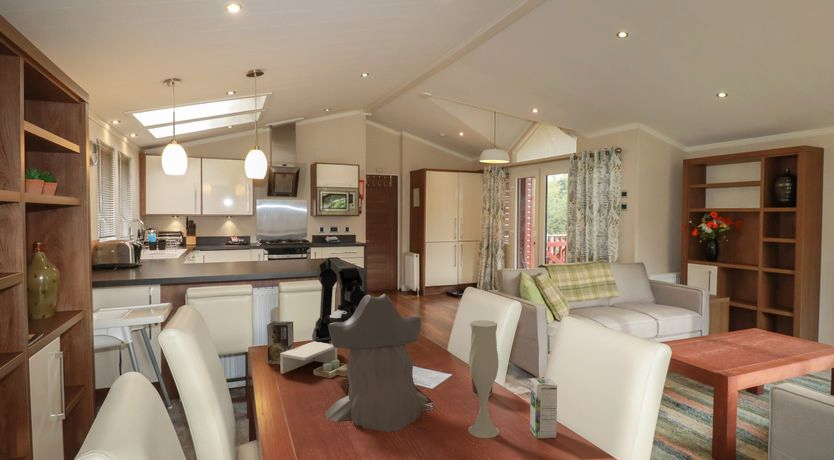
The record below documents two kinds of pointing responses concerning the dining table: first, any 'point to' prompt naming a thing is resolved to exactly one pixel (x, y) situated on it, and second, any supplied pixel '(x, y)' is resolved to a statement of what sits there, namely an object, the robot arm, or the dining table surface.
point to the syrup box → (543, 408)
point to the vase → (483, 373)
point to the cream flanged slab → (307, 355)
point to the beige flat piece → (339, 371)
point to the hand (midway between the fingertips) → (348, 344)
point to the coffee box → (279, 339)
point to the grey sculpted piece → (378, 367)
